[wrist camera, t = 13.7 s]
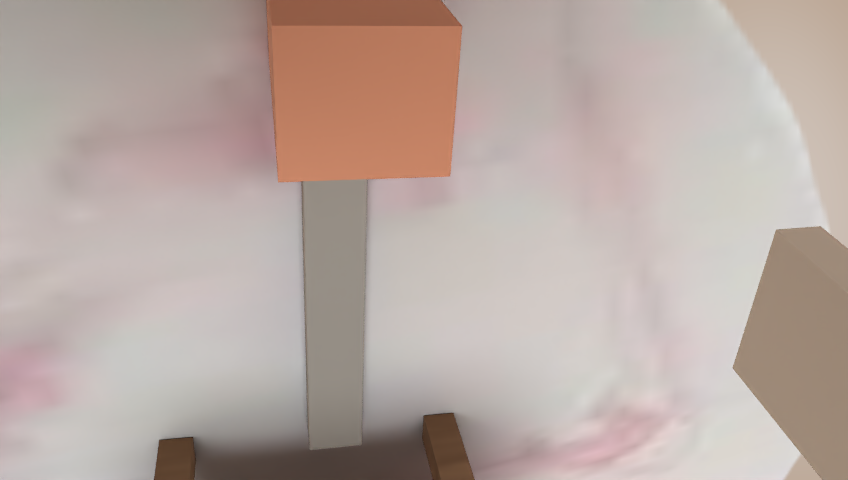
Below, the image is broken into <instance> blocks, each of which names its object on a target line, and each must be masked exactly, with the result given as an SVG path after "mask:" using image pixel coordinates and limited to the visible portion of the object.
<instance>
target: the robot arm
mask: <svg viewBox="0 0 848 480" xmlns="http://www.w3.org/2000/svg"><path fill="white" fill-rule="evenodd" d="M733 369H734V370H735V372H736V373H737V374H738V375H739V377H740V378H741V379H742V380H743V382H744V383H745V384H746V385H747V387H748V388H749V389H750V390H751V392H752V393H753V394H754V395H755V397H756V398H757V399H758V400H759V402H760V403H761V404H762V405H763V406H764V408H765V409H766V410H767V411H768V413H769V414H770V415H771V416H772V418H773V419H774V420H775V421H776V423H777V424H778V425H779V426H780V428H781V429H782V430H783V431H784V433H785V434H786V435H787V436H788V438H789V439H790V440H791V441H792V443H793V444H794V445H795V446H796V448H797V449H798V450H799V451H800V453H801V454H802V455H803V456H804V458H805V459H806V460H807V461H808V462H809V464H810V465H811V466H812V468H813V469H814V470H815V471H816V473H817V474H818V475H819V476H820V478H821V479H822V480H848V248H846V247H845V246H844V245H842V244H841V243H840V242H839V241H838V240H837V239H835V238H834V237H833V236H832V235H830V234H829V233H828V232H827V231H826V230H824V229H823V228H822V227H821V226H819V227H805V228H792V229H779V230H776V232H775V235H774V238H773V241H772V245H771V248H770V251H769V254H768V257H767V260H766V264H765V267H764V270H763V273H762V276H761V280H760V283H759V286H758V289H757V292H756V295H755V299H754V302H753V305H752V308H751V311H750V314H749V318H748V321H747V324H746V327H745V330H744V334H743V337H742V340H741V343H740V346H739V349H738V353H737V356H736V359H735V362H734V365H733Z"/></svg>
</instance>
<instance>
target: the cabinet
mask: <svg viewBox="0 0 848 480" xmlns="http://www.w3.org/2000/svg"><path fill="white" fill-rule="evenodd" d="M422 439H423V443H424V447H425V451H426V455H427V459H428V463H429V466H430V470H431V474H432V478H433V480H475V479H474V476H473V473H472V470H471V467H470V464H469V461H468V457H467V454H466V451H465V448H464V445H463V442H462V439H461V435H460V432H459V429H458V426H457V423H456V420H455V417H454V413H448V414H438V415H427V416H424V420H423V433H422ZM195 464H196V458H195V450H194V442H193V437H190V438H179V439H169V440H159V447H158V454H157V462H156V469H155V477H154V480H194V477H195Z"/></svg>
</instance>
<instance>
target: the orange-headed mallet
mask: <svg viewBox="0 0 848 480" xmlns="http://www.w3.org/2000/svg"><path fill="white" fill-rule="evenodd" d="M266 5H267V27H268V49H269V67H270V80H271V93H272V106H273V119H274V133H275V146H276V159H277V172H278V182H299V181H301V186H302V225H303V265H304V304H305V343H306V382H307V422H308V436H309V446H310V450H316V449H326V448H336V447H347V446H357V445H361V443H362V397H363V350H364V304H365V257H366V211H367V179H387V178H416V177H446V176H450V171H451V159H452V146H453V134H454V121H455V109H456V97H457V84H458V72H459V59H460V47H461V34H462V25H461V24H460V23H459V22H458V21H457V19H456V18H455V17H454V16H453V15H452V13H451V12H450V11H449V10H448V9H447V7H446V6H445V5H444V4H443V3H442V1H441V0H266Z"/></svg>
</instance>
